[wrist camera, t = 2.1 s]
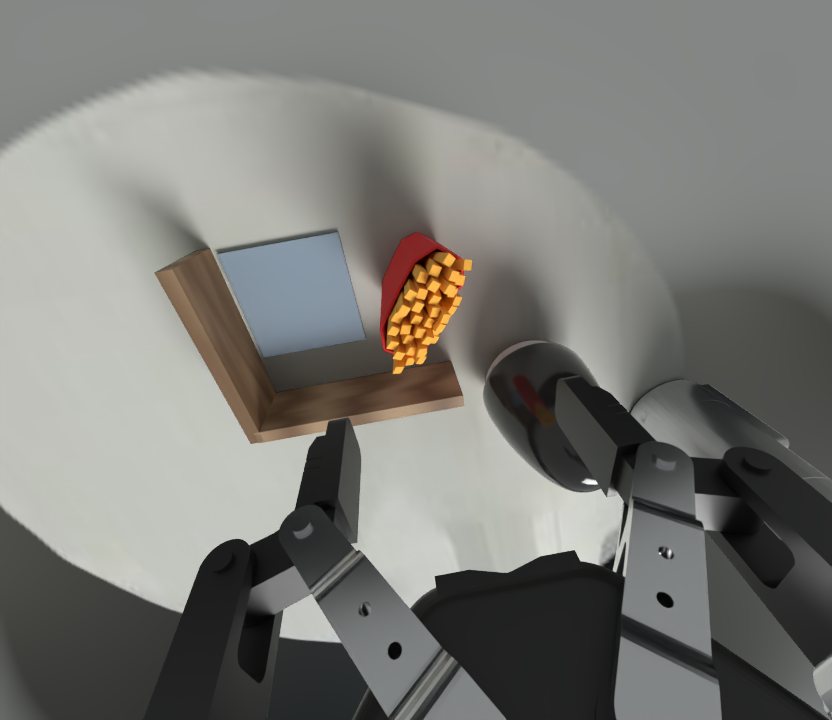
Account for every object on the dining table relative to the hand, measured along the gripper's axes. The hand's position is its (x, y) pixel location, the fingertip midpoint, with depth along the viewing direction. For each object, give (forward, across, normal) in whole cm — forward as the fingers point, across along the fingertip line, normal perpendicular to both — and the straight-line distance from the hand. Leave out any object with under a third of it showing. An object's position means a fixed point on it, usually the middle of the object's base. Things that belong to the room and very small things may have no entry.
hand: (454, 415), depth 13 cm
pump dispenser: (+20, -10, +13) cm, 26 cm away
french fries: (+20, 0, 0) cm, 20 cm away
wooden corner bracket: (+20, +7, +4) cm, 22 cm away
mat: (+20, +10, +1) cm, 23 cm away
